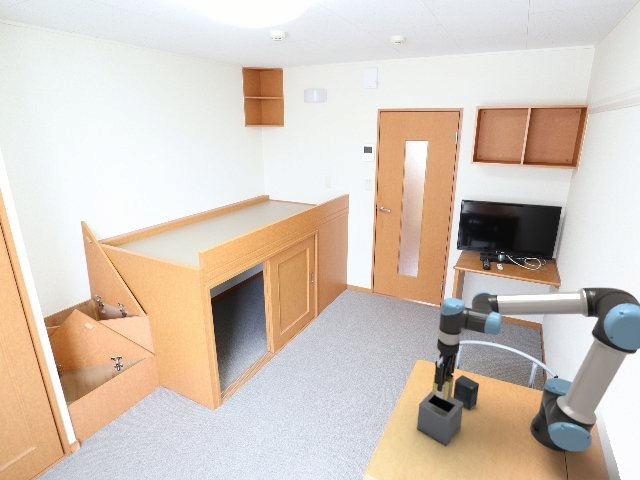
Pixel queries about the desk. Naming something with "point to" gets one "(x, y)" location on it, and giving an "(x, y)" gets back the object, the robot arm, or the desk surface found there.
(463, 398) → the box
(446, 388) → the yellow rectangular block
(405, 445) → the desk surface
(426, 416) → the gray slotted cube
